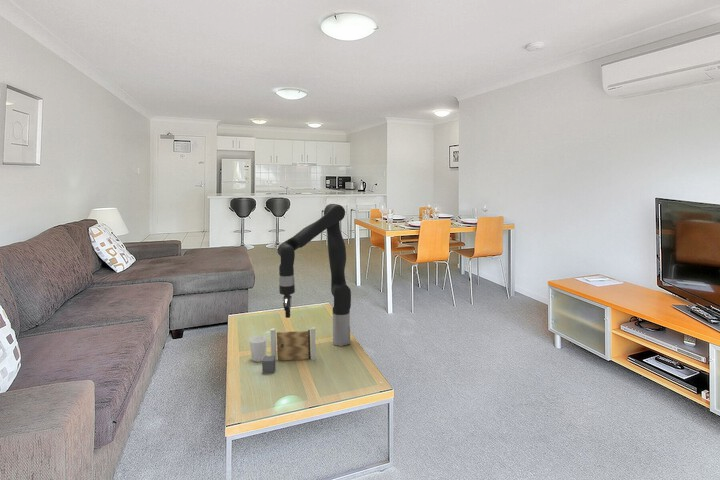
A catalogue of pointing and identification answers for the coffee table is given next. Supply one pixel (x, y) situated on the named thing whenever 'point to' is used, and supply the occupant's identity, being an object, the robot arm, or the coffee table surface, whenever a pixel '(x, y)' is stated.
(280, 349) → the door
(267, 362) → the grey cube-like block
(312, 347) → the door frame
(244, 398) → the coffee table surface
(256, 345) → the white cup
